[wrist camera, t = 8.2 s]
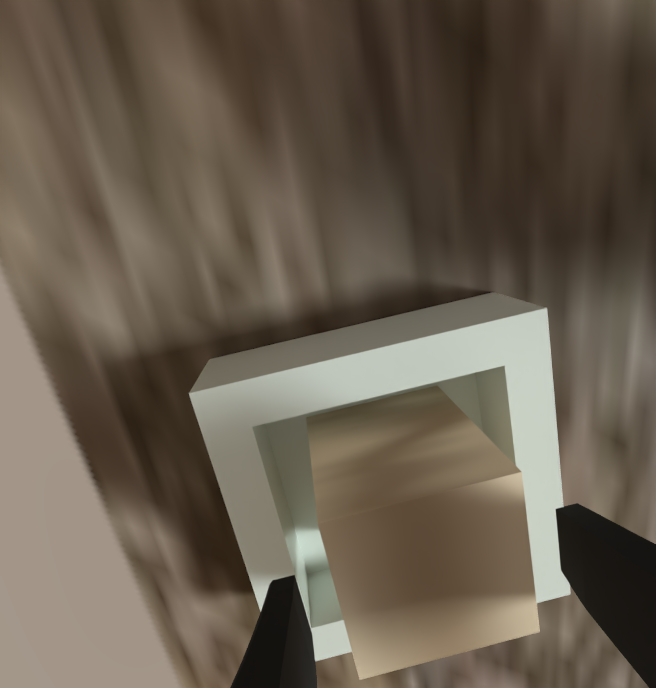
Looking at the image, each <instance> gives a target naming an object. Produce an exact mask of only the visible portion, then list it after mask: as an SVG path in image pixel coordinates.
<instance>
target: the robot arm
mask: <svg viewBox="0 0 656 688" xmlns="http://www.w3.org/2000/svg"><path fill="white" fill-rule="evenodd" d="M556 520H557V531H558V543H559V554H560V566H561V571H562V573H563V574H564V576H565V577H566V579H567V581H568V582H569V584H570V585H571V587H572V589H573V590H574V592H575V593H576V595H577V596H578V598H579V599H580V601H581V602H582V604H583V605H584V607H585V608H586V610H587V611H588V612H589V613H590V615H591V616H592V617H593V618H594V620H595V621H596V622H597V623H598V625H599V626H600V627H601V628H602V630H603V631H604V632H605V633H606V635H607V636H608V637H609V638H610V640H611V641H612V642H613V643H614V645H615V646H616V647H617V648H618V650H619V651H620V652H621V653H622V655H623V656H624V657H625V658H626V659H627V661H628V662H629V663H630V664H631V666H632V667H633V668H634V669H635V671H636V672H637V673H638V674H639V675H640V677H641V678H642V679H643V680H644V682H645V683H646V684H647V685H648V687H649V688H656V544H654V543H652V542H650V541H648V540H646V539H644V538H642V537H640V536H638V535H637V534H635V533H633V532H631V531H629V530H627V529H625V528H623V527H621V526H620V525H618V524H616V523H614V522H612V521H610V520H608V519H606V518H604V517H603V516H601V515H599V514H597V513H595V512H593V511H591V510H589V509H587V508H585V507H583V506H581V505H579V504H573V505H569V506H565V507H561V508H557V509H556ZM231 688H317V675H316V665H315V655H314V646H313V637H312V632H311V628H310V625H309V621H308V618H307V615H306V611H305V608H304V604H303V601H302V598H301V594H300V591H299V587H298V584H297V581H296V577H295V575H292V576H288V577H284V578H280V579H276V580H272V582H271V583H270V584H269V587H268V591H267V594H266V597H265V601H264V604H263V607H262V610H261V613H260V616H259V618H258V621H257V624H256V627H255V630H254V632H253V635H252V637H251V640H250V643H249V645H248V648H247V650H246V653H245V655H244V658H243V660H242V663H241V665H240V667H239V670H238V672H237V674H236V676H235V679H234V681H233V683H232V685H231Z"/></svg>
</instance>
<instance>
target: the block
mask: <svg viewBox="0 0 656 688" xmlns="http://www.w3.org/2000/svg"><path fill="white" fill-rule="evenodd" d="M306 420H307V429H308V438H309V448H310V457H311V466H312V475H313V485H314V494H315V503H316V513H317V522H318V527H319V530H320V534H321V538H322V542H323V545H324V549H325V553H326V556H327V560H328V564H329V568H330V571H331V575H332V579H333V582H334V586H335V590H336V594H337V597H338V601H339V605H340V609H341V612H342V616H343V620H344V623H345V627H346V631H347V635H348V638H349V642H350V646H351V649H352V653H353V657H354V661H355V664H356V668H357V672H358V675H359V679H360V680H361V679H365V678H369V677H373V676H376V675H380V674H384V673H387V672H391V671H395V670H399V669H402V668H406V667H410V666H414V665H417V664H421V663H425V662H429V661H432V660H436V659H440V658H444V657H447V656H451V655H455V654H459V653H462V652H466V651H470V650H474V649H477V648H481V647H485V646H488V645H492V644H496V643H500V642H503V641H507V640H511V639H515V638H518V637H522V636H526V635H530V634H533V633H537V632H540V629H539V620H538V611H537V602H536V593H535V584H534V576H533V567H532V558H531V549H530V540H529V531H528V522H527V513H526V504H525V496H524V487H523V478H522V472H521V471H520V469H519V468H518V467H517V466H516V465H515V464H514V463H513V462H512V461H511V460H510V459H509V458H508V457H507V456H506V455H505V454H504V453H503V452H502V451H501V450H500V449H499V448H498V447H497V446H496V445H495V444H494V443H493V442H492V441H491V440H490V439H489V438H488V437H487V436H486V435H485V434H484V433H483V432H482V431H481V430H480V429H479V428H478V427H477V426H476V425H475V424H474V423H473V422H472V420H471V419H470V418H469V417H468V416H467V415H466V414H465V413H464V412H463V411H462V410H461V409H460V408H459V407H458V406H457V405H456V404H455V403H454V402H453V401H452V400H451V399H450V398H449V397H448V396H447V395H446V394H445V393H444V392H443V391H442V390H441V389H440V388H439V387H438V386H437V385H436V386H432V387H428V388H424V389H420V390H416V391H412V392H408V393H404V394H400V395H396V396H392V397H387V398H383V399H379V400H375V401H371V402H367V403H363V404H359V405H355V406H351V407H347V408H343V409H339V410H334V411H330V412H326V413H322V414H318V415H314V416H310V417H306Z"/></svg>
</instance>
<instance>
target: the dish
mask: <svg viewBox="0 0 656 688" xmlns="http://www.w3.org/2000/svg"><path fill="white" fill-rule="evenodd" d="M436 385H437V386H438V387H439V388H440V389H441V390H442V391H443V392H444V393H445V394H446V395H447V396H448V397H449V398H450V399H451V400H452V401H453V402H454V403H455V404H456V405H457V406H458V407H459V408H460V409H461V410H462V411H463V412H464V413H465V414H466V415H467V416H468V417H469V418H470V419H471V420H472V422H473V423H474V424H475V425H476V426H477V427H478V428H479V429H480V430H481V431H482V432H483V433H484V434H485V435H486V436H487V437H488V438H489V439H490V440H491V441H492V442H493V443H494V444H495V445H496V446H497V447H498V448H499V449H500V450H501V451H502V452H503V453H504V454H505V455H506V456H507V457H508V458H509V459H510V460H511V461H512V462H513V463H514V464H515V465H516V466H517V467H518V468H519V469H520V471H521V472H522V478H523V487H524V496H525V504H526V513H527V522H528V531H529V540H530V549H531V558H532V567H533V576H534V584H535V593H536V602H537V603H539V602H543V601H547V600H550V599H554V598H558V597H562V596H566V595H569V594H570V584H569V582H568V581H567V579H566V577H565V576H564V574H563V573H562V571H561V566H560V554H559V543H558V531H557V520H556V509H557V508H561V507H563V496H562V484H561V472H560V460H559V448H558V435H557V423H556V411H555V399H554V387H553V374H552V362H551V350H550V338H549V326H548V314H547V308H546V307H542V306H539V305H535V304H532V303H529V302H525V301H522V300H518V299H515V298H512V297H508V296H505V295H501V294H498V293H495V292H492V293H488V294H484V295H479V296H475V297H471V298H467V299H462V300H458V301H454V302H450V303H445V304H441V305H437V306H433V307H429V308H424V309H420V310H416V311H412V312H407V313H403V314H399V315H395V316H390V317H386V318H382V319H378V320H374V321H369V322H365V323H361V324H357V325H352V326H348V327H344V328H340V329H336V330H331V331H327V332H323V333H319V334H314V335H310V336H306V337H302V338H297V339H293V340H289V341H285V342H281V343H276V344H272V345H268V346H264V347H259V348H255V349H251V350H247V351H242V352H238V353H234V354H230V355H226V356H221V357H217V358H213V359H209V361H208V362H207V364H206V366H205V367H204V369H203V371H202V372H201V374H200V376H199V377H198V379H197V381H196V382H195V384H194V386H193V387H192V389H191V391H190V392H189V396H190V399H191V402H192V405H193V408H194V411H195V414H196V417H197V420H198V423H199V426H200V429H201V432H202V435H203V438H204V441H205V444H206V447H207V450H208V453H209V456H210V460H211V463H212V466H213V469H214V472H215V475H216V478H217V481H218V484H219V487H220V490H221V493H222V496H223V499H224V502H225V505H226V508H227V511H228V514H229V517H230V520H231V523H232V526H233V529H234V532H235V535H236V538H237V541H238V544H239V548H240V551H241V554H242V557H243V560H244V563H245V566H246V569H247V572H248V575H249V578H250V581H251V584H252V587H253V590H254V593H255V596H256V599H257V602H258V605H259V608H260V611H261V610H262V607H263V604H264V601H265V597H266V594H267V591H268V587H269V584H270V583H271V582H272V580H276V579H280V578H284V577H288V576H292V575H295V577H296V581H297V584H298V587H299V591H300V594H301V598H302V601H303V604H304V608H305V611H306V615H307V618H308V621H309V625H310V628H311V632H312V637H313V646H314V655H315V661H318V660H322V659H326V658H330V657H334V656H337V655H341V654H345V653H349V652H352V649H351V646H350V642H349V638H348V635H347V631H346V627H345V623H344V620H343V616H342V612H341V609H340V605H339V601H338V597H337V594H336V590H335V586H334V582H333V579H332V575H331V571H330V568H329V564H328V560H327V556H326V553H325V549H324V545H323V542H322V538H321V534H320V530H319V527H318V522H317V513H316V503H315V494H314V485H313V475H312V466H311V457H310V448H309V438H308V429H307V420H306V417H310V416H314V415H318V414H322V413H326V412H330V411H334V410H339V409H343V408H347V407H351V406H355V405H359V404H363V403H367V402H371V401H375V400H379V399H383V398H387V397H392V396H396V395H400V394H404V393H408V392H412V391H416V390H420V389H424V388H428V387H432V386H436Z"/></svg>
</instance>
